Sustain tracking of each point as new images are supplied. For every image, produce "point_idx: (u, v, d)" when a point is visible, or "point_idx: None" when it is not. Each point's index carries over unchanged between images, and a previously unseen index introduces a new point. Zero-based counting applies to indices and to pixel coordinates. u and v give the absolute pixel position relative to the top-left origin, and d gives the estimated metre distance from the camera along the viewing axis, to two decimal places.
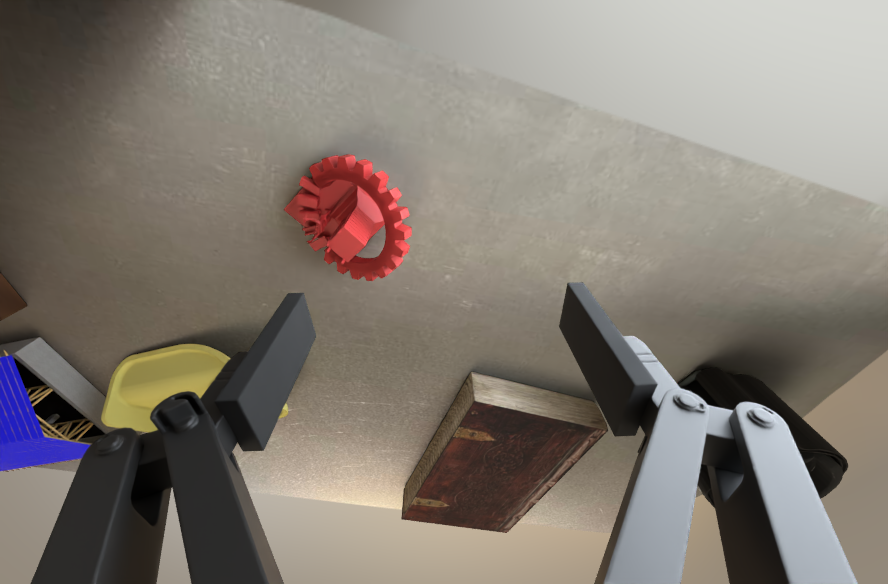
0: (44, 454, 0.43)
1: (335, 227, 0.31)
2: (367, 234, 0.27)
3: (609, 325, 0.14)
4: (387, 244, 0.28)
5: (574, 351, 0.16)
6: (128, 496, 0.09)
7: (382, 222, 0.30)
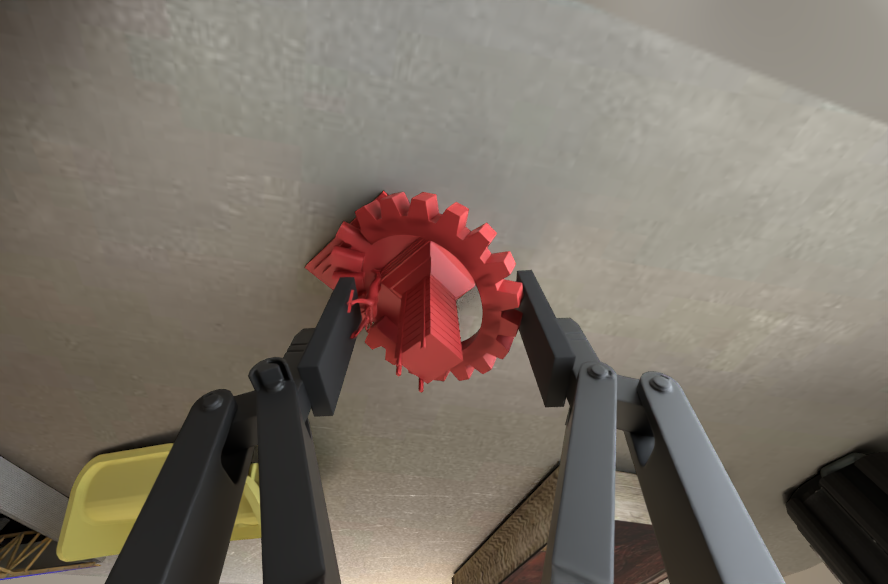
0: None
1: (384, 295, 0.20)
2: (457, 328, 0.16)
3: (545, 307, 0.15)
4: (481, 338, 0.17)
5: (521, 333, 0.17)
6: (219, 454, 0.10)
7: (463, 293, 0.19)
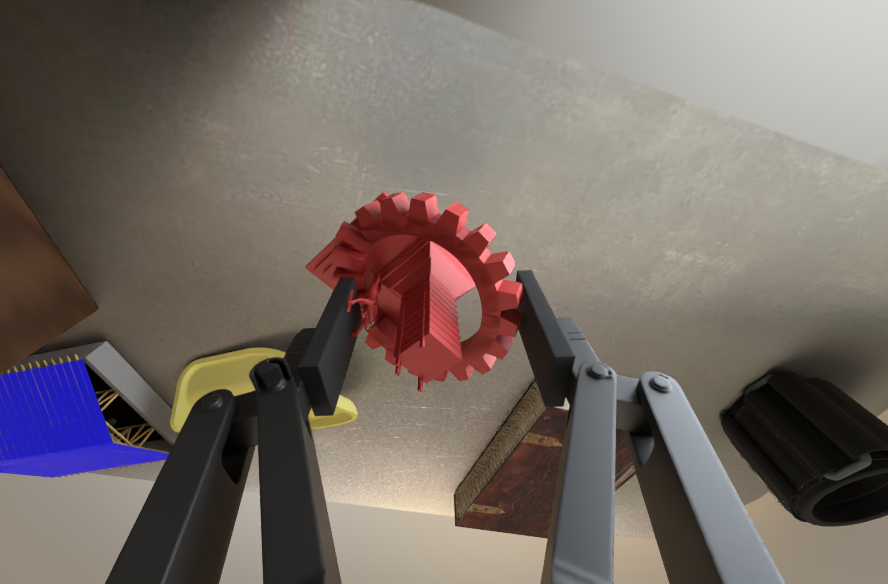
0: (104, 460, 0.42)
1: (385, 295, 0.20)
2: (456, 328, 0.16)
3: (545, 307, 0.15)
4: (480, 338, 0.17)
5: (521, 333, 0.17)
6: (219, 454, 0.10)
7: (463, 293, 0.19)
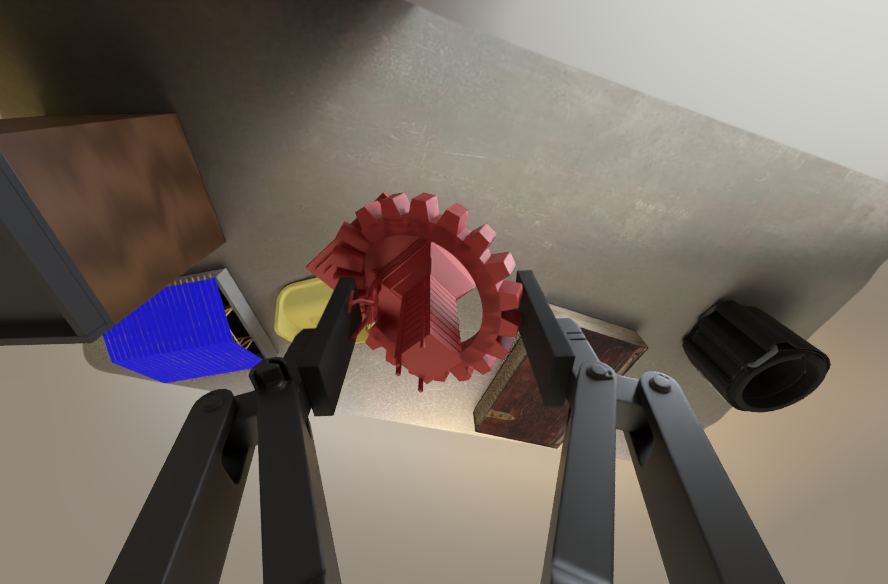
0: (214, 363, 0.55)
1: (385, 295, 0.20)
2: (456, 328, 0.16)
3: (545, 307, 0.15)
4: (481, 338, 0.17)
5: (521, 334, 0.17)
6: (219, 454, 0.10)
7: (463, 294, 0.19)
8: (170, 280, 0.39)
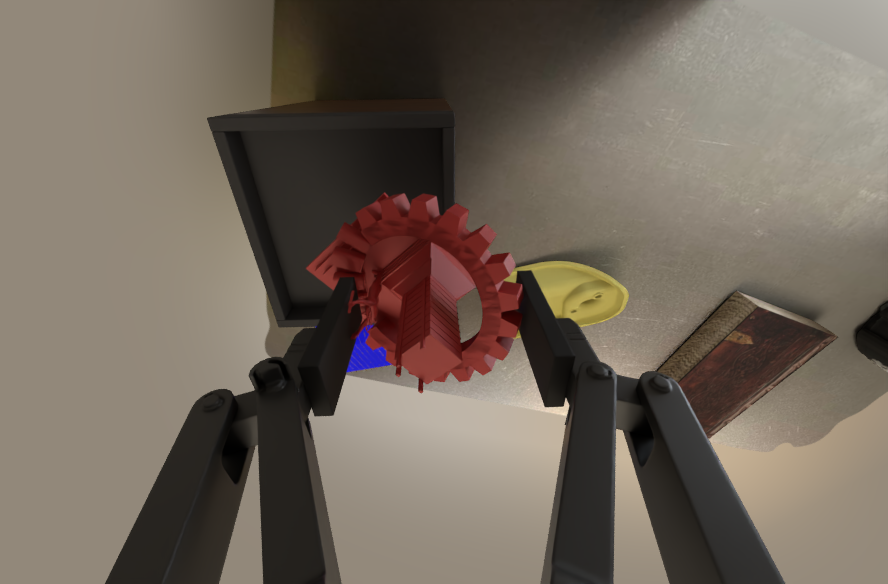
0: None
1: (385, 296, 0.20)
2: (456, 329, 0.16)
3: (545, 307, 0.15)
4: (481, 339, 0.17)
5: (521, 333, 0.17)
6: (219, 454, 0.10)
7: (463, 294, 0.19)
8: None
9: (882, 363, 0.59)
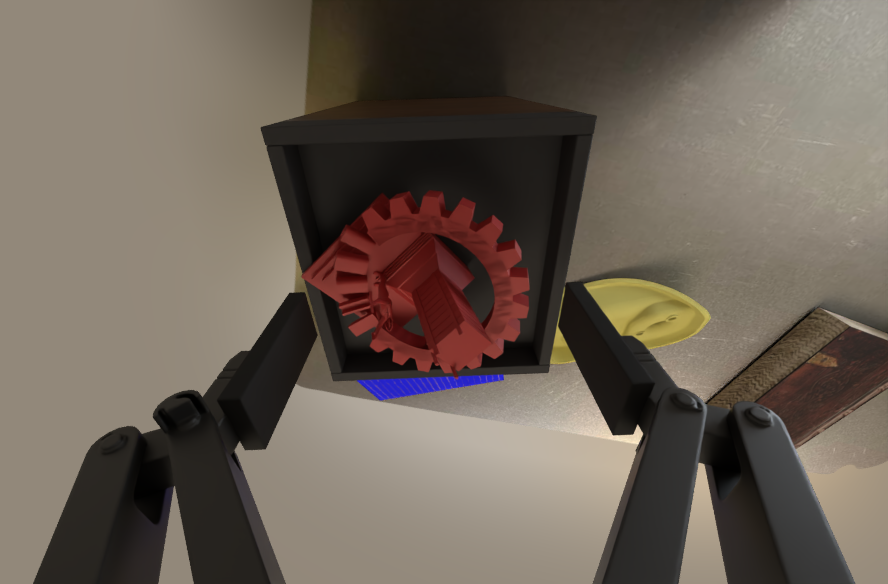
0: (452, 379, 0.50)
1: None
2: (475, 316, 0.17)
3: (607, 325, 0.14)
4: (493, 324, 0.18)
5: (572, 350, 0.16)
6: (131, 495, 0.09)
7: (466, 285, 0.20)
8: None
9: None
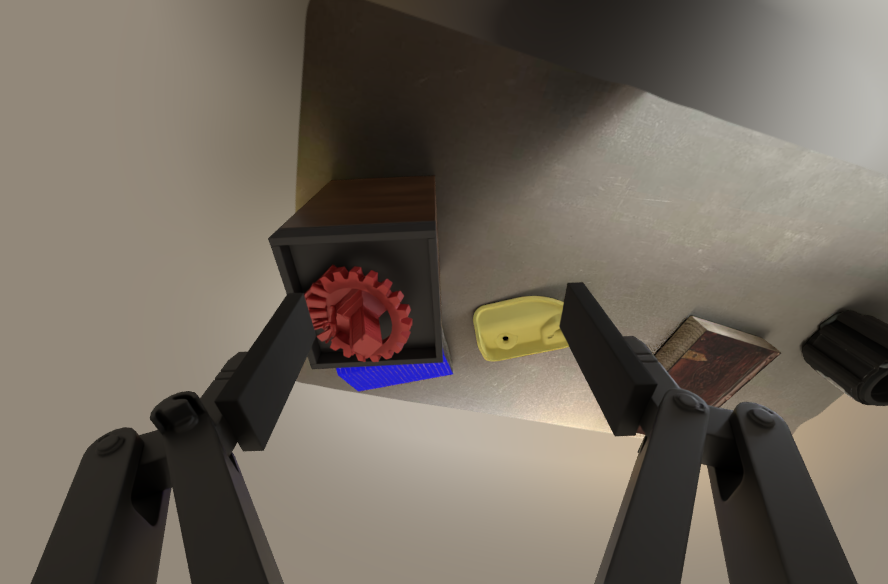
0: (412, 373, 0.65)
1: (339, 319, 0.36)
2: (379, 330, 0.32)
3: (609, 325, 0.14)
4: (393, 334, 0.34)
5: (573, 351, 0.16)
6: (128, 497, 0.09)
7: (382, 312, 0.36)
8: None
9: (823, 374, 0.68)
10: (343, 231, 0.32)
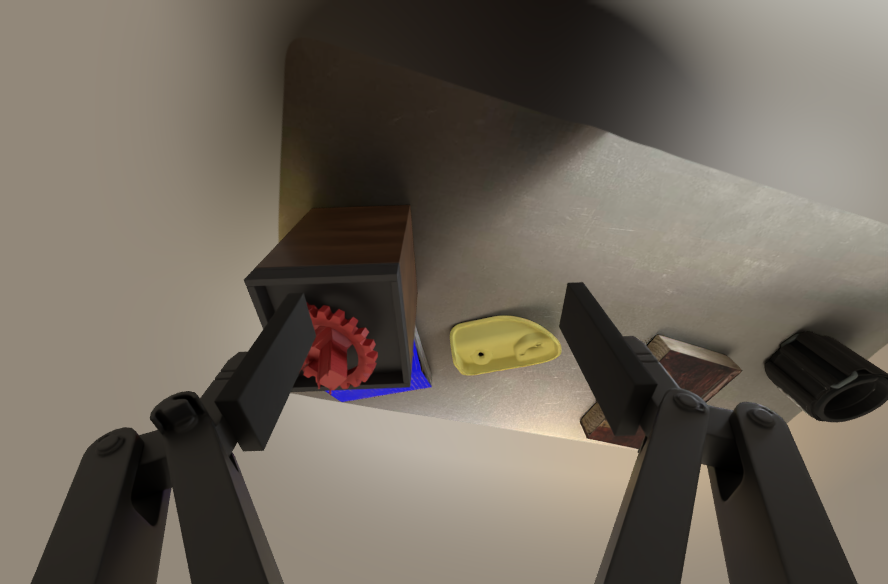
0: None
1: (311, 349, 0.39)
2: (345, 364, 0.35)
3: (609, 325, 0.14)
4: (359, 365, 0.37)
5: (573, 351, 0.16)
6: (128, 496, 0.09)
7: (351, 344, 0.39)
8: (414, 332, 0.52)
9: (783, 390, 0.72)
10: (313, 273, 0.35)
